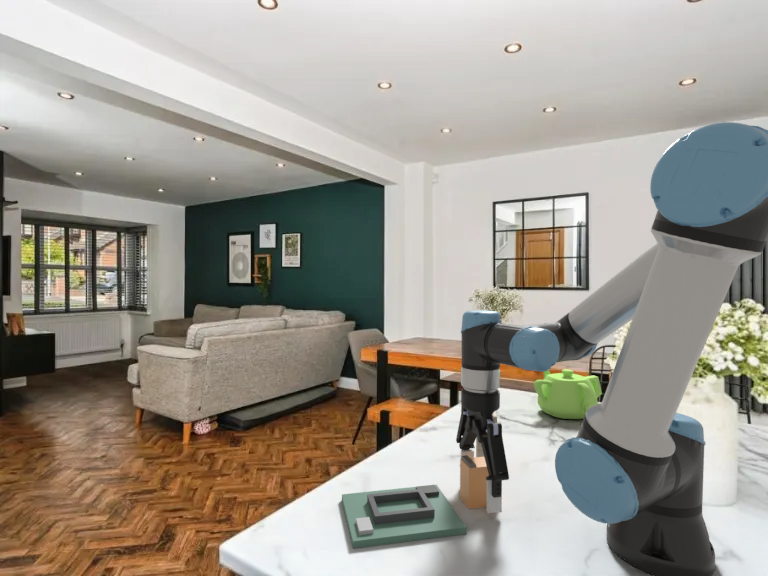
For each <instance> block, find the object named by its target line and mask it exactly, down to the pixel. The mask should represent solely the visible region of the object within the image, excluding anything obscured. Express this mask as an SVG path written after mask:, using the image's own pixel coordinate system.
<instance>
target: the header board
mask: <svg viewBox="0 0 768 576" xmlns="http://www.w3.org/2000/svg"><path fill="white" fill-rule="evenodd" d="M341 502H342V507H343V512H344V515H345V516H344V517H345V520H346V524H347V528H348V532H349V536H350V541H351V542H350V543H351V545H352V549H359V548H360V549H361V548H365V547H366V548H367V547H374V546H375V547H376V546H380V545H382V546H383V545H389V544H396V543H397V544H398V543H405V542H411V541H412V542H413V541H420V540H429V539H435V538H442V537H452V536H460V535H467V526H466V524H465V522H463V520H462V519H461V517H460V515H458V513H457V512H456V510H455V508H454V507H453V506H452V505H451V503H450V502H449V500H448V498H447V497H446V496H445V495H444V492H442V490H441V488H440V487H439V486H438V484H429V485H428V484H427V485H420V486H419V485H418V486H411V487H410V486H409V487H402V488H401V487H399V488H390V489H380V490H372V491H371V490H370V491H362V492H361V491H360V492H353V493H344V494H343V493H342V494H341Z"/></svg>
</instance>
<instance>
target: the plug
mask: <svg viewBox="0 0 768 576" xmlns="http://www.w3.org/2000/svg"><path fill="white" fill-rule="evenodd" d="M459 462H460V463H459V466H460V468H459V469H460V471H459V490H460V491H459V498H460V500H461V501H462V502H463V503H464V505H465V506H466V507H467V508H468V509H469V510H470V509H477V508H485V507H486V490H487V480H486V477H487V476H489V474H488V470H487V466H486V462H485V457H476V456H474V458H469V457H468V456H467V455H464V456H461V455H460V460H459Z"/></svg>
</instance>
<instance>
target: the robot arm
mask: <svg viewBox="0 0 768 576" xmlns="http://www.w3.org/2000/svg"><path fill="white" fill-rule="evenodd" d="M650 197H651V199H653V203H654V205H655V207H656V210H657V211H656V214H655V217H654V220H653V223H652V226H651V228H650V232H651V234H652V235H653V237H654V239H655V241H656V242H655V243H654V244H652V245H651V246H650V247H649V248H648V249H646V250H645V251H644V252H643V253H640V255H639V256H638V257H636V258H635V259H634V260H632V262H630V263H629V264H627V265H626V266H625V267H624V268H623V269H621V270H620V271H619V272H617V273H616V274H615V275H614V276H612V277H611V278H610V279H608V281H606V282H605V283H604V284H603V285H601V286H600V287H599V288H597V289H596V290H594V292H592V293H591V294H590V295H589V296H587V297H586V298H585V299H584V300H582V301H581V302H580V303H579V304H577V305H576V306H575V307H574V308H572V309H571V310H570V311H569V312H567V314H565V315H564V316H562V317H561V318H560V319H559V320H557V321H555V322H554V321H553V322H546V323H533V324H522V325H520V324H510V323H509V324H507V323H503V322H502V319H501V313H500V312H499V311H495V310H485V309H483V310H482V309H479V310H476V309H475V310H473V309H472V310H467V311H465V312H464V313H463V314H462V317H461V318H462V319H461V320H462V321H461V330H460V334H461V367H460V385H461V387H462V389H461V391H460V393H461V396H460V398H461V401H460V402H461V405H460V407H461V409H460V412H461V413H460V418H459V424H458V427H457V433H456V437H455V438H456V439H455V441H456V444H459V445H458V447H459V449H460V457H461V456H464V455H467V456H468V457H469V458H474V457H475V450H474V449H476V445H474V444H475V443H476V437H477V439H478V442H479V443H481V445H482V449H483V453H484V457H485V462H486V466H487V470H488V474H489V476H487V477H486V480H487V490H486V508H485V509H486V510H485V512H486V513H487V514H493V513H502V506H503V505H502V504H503V502H502V499H503V498H502V495H503V493H502V492H503V491H502V490H503V487H502V486H503V481H508V480H509V479H510V475H509V470H508V469H509V468H508V465H507V464H508V463H507V458H506V457H507V456H506V451H505V446H504V439H503V425H502V423H501V422H497V423H494V420H493V415H492V414H493V412H495V411H496V412H497V411H498V410H499V409H500V407H501V392H500V390H499V388H500V382H501V381H500V380H501V379H500V376H501V375H502V370H501V369H500V368H501V365H506V366H510V367H514V368H518V369H521V370H525V371H529V372H530V371H535V372H539V373H540V372H541V373H544V371H548V370H549V371H550V370H551V368H552V367H553V366H555V364H557V363H562V362H568V361H578V360H581V359H583V358H587V357H589V356H591V355H592V354H594V352H595V351H596V349H597V346H598V344H599V343H600V342H601V341H603V340H604V339H606V338H608V337H609V336H611V335H612V334H613V333H615V332H616V331H618V330H619V329H621V328H623V327H624V326H625V325H627V324H628V323H629V322H630V325H629V328H628V329H627V333H626V335H625V338H624V340H623V344H622V347H621V350H620V352H619V354H618V358H617V360H616V363H615V365H614V368H613V371H612V374H611V377H610V379H609V382H608V384H607V387H606V390H605V393H604V395H603V397H602V401H601V403H598V404H597V405H593V406H591V407H589V408H588V410H587V411H586V413H585V416H584V418H583V419H582V421H581V422H582V423H581V424H580V428H579V431H578V433H577V435H576V436H575V437H571V438H568V439H566V440H565V442H563V443H562V444H561V445H560V446H559V447H558V449H557V451H556V454H555V458H554V466H555V467H554V469H555V473H556V478H557V480H558V482H559V484H560V485H561V489H562V492H563V493H564V495H565V496H566V497H567V499H568V501H570V503H571V504H572V505H573V507H575V508H576V509H577V511H579V512H581V514H583V515H584V516H586V517H587V518H589V519H591V520H593V521H595V522H598V523H601V524H606V542H607V544H608V545H609V547H610V549H611V550H612V552H614V554H616V555H617V556H618V557H620V559H622V560H623V561H625V562H626V563H628V564H630V565H632V566H634V567H635V568H637V569H639V570H642V571H644V572H646V573H649V574H652V575H655V576H712V575H713V574H714V573H715V570H716V551H715V548H714V545H713V543H712V542H711V541H710V535H709V532H708V529H707V525H706V522H705V519H704V517H703V499H704V498H703V496H704V495H703V494H704V493H703V492H704V468H705V467H704V464H705V460H704V459H705V446H706V441H705V435H704V427H703V425H702V423H701V422H700V421H699V420H698V419H696V418H693V417H691V416H689V415H685V414H682V413H680V412H679V413H678V412H677V411H678V408H679V407H680V404H681V402H682V400H683V398H684V395H685V393H686V390H687V388H688V386H689V383H690V381H691V379H692V376H693V374H694V371H695V369H696V367H697V365H698V362H699V359H700V358H701V356H702V353H703V351H704V348H705V346H706V343H707V341H708V338H709V336H710V333H711V332H712V329H713V326H714V324H715V323H716V320H717V317H718V316H719V315H718V314H719V313H720V311H721V308H722V306H723V304H724V302H725V300H726V299H725V298H726V296H727V294H728V291H729V289H730V288H731V285H732V282H733V280H734V277H735V276H736V273H737V270H738V269H739V266H740V265H742V264H743V263H744V262H747V261H749V260H752V259H754V258H756V257H759V256H760V255H762V253H763V250H764V249H765V246H766V245H767V242H768V129H765V128H763V127H761V126H758V125H749V124H744V123H739V122H730V121H727V122H726V121H725V122H724V121H723V122H715V123H711V124H707V125H703V126H701V127H698V128H695V129H694V130H691V131H690V132H689V133H687V134H685V135H683V136H682V137H680V138H678V139H677V140H676V141H674V142H673V143H672V144H671V145H670V146H669V147H668V148H667V149H666V150H665V151H664V152H663V154H662V155H661V156H660V158H659V159H658V161H657V162H656V165H655V167H654V169H653V172H652V175H651V178H650Z"/></svg>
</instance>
